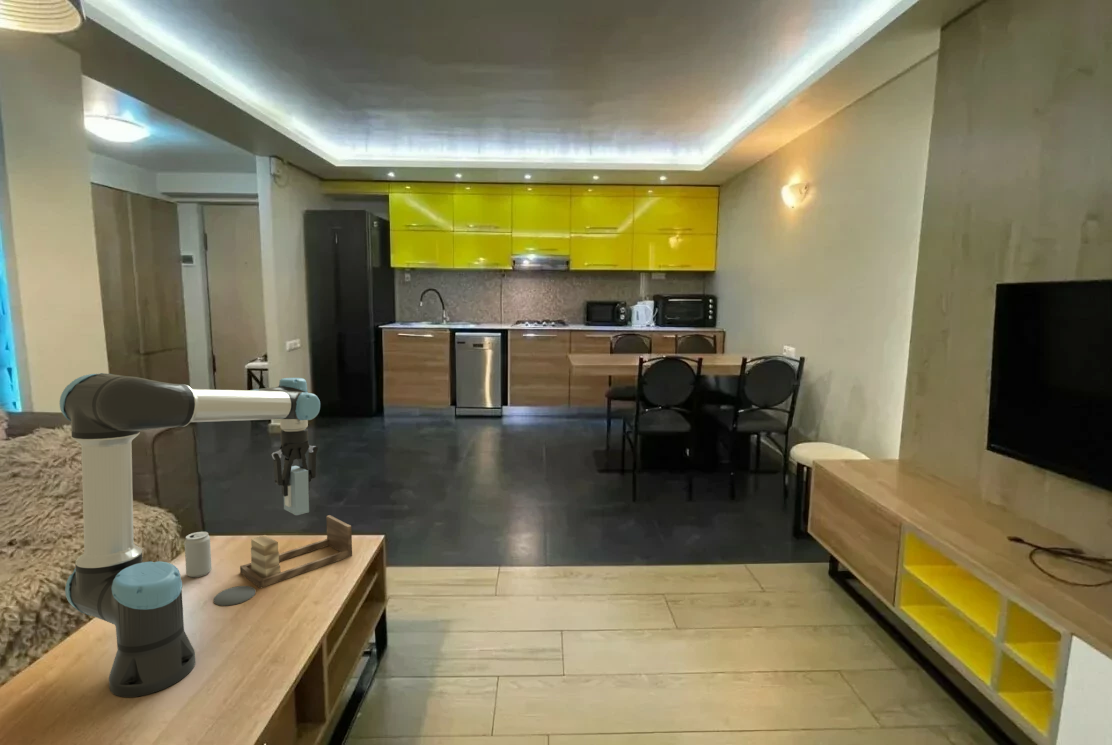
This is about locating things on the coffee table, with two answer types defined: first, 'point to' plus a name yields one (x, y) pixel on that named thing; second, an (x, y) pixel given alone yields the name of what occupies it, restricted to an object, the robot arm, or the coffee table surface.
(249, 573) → the rack
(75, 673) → the coffee table surface
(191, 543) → the beverage can
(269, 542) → the offcut
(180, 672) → the robot arm
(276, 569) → the offcut
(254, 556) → the offcut
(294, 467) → the light blue block
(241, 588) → the coaster
